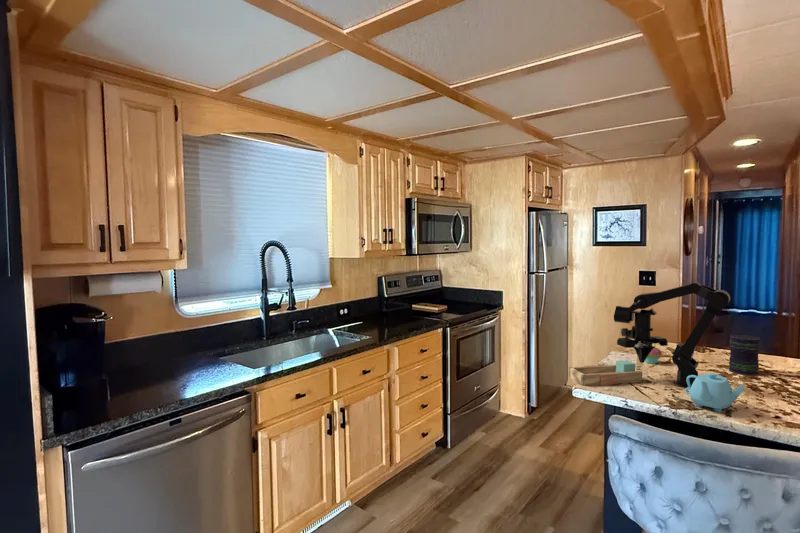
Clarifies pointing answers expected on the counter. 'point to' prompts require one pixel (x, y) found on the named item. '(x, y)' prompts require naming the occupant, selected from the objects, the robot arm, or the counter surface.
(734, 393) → the teapot
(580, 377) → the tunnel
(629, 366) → the block
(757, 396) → the counter surface
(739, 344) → the storage jar
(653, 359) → the cupcake
